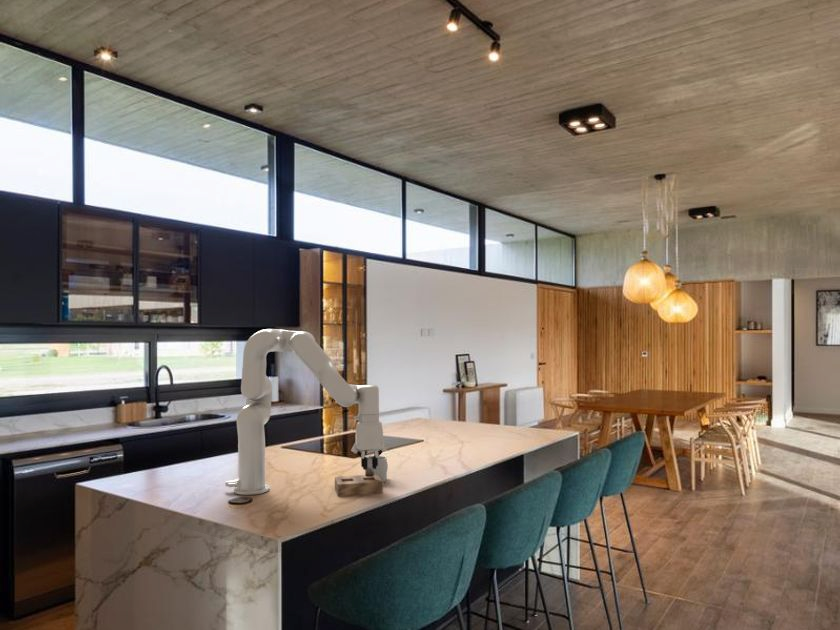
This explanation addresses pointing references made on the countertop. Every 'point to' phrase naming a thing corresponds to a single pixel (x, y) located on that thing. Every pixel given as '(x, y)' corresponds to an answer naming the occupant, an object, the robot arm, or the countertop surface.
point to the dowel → (369, 466)
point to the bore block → (358, 485)
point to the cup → (382, 468)
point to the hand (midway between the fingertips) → (369, 468)
